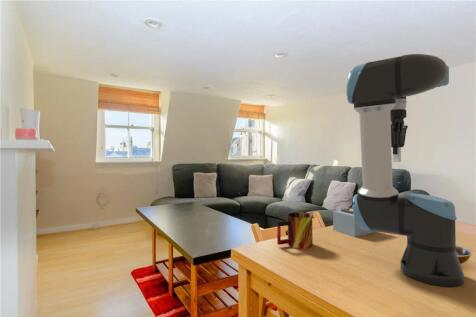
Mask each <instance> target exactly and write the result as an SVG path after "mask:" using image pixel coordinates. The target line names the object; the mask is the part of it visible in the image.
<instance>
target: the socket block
mask: <svg viewBox="0 0 476 317" xmlns="http://www.w3.org/2000/svg"><path fill="white" fill-rule="evenodd" d="M349 209H353V207H348V208H346V207H345V208H341V209H339V210H333V211H332V223H333V224H332V225H333V226H332V227H333V228H332V230H333V231H334V230H336V231H335V232H338V231H339V232H338V233H341V234H343V235H348V236H350V237H353V238H355V237H361V236H366V235H370V234H374V233H376V231H374V232H373V231H370V230H366V229H362V228H360V227H359V226H358V225H357V224H356V222H355V219H354V215H353V211H350V210H349Z"/></svg>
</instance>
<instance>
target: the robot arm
mask: <svg viewBox="0 0 476 317" xmlns="http://www.w3.org/2000/svg"><path fill="white" fill-rule="evenodd" d="M449 84H450V67H449V66H448V65H447V63H446V61H444V60H443V59H442V58H440V57H438V56H435V55H433V54H432V55H431V54H426V53H424V54H423V53H411V54H404V55H400V56H395V57H391V58H383V59H378V60H374V61H368V62H365V63H362V64H359V65H356V66H353V67H352V68H351V70H350V72H349V74H348V78H347V82H346V97H347V102H348V103H349V104H351V105H353V110H354V111H356V112H357V113H358V114H359V133H360V134H359V136H360V152H361V153H360V155H361V157H360V158H361V176H362V178H361V179H362V186H361V187H359V189H358V190H357V194H355V195H354V196H353V197H352V208H353V215H354V219H355V222H356V224H357V225H358V226H359V227H360V228H362V229H366V230H370V231H373V232H374V231H376V232H377V233H384V234H391V235H398V236H399V235H400V236H404V237H406V248H405V249H404V251H403V254H402V256H401V260H400V270H401V272H402V273H403V274H404V275H405V276H408V277H409V278H411V279H414V280H416V281H419V282H421V283H426V284H428V285H429V284H430V285H433V286H434V285H435V286H440V287H459V286H461V285H463V284H464V283H465V273H464V270H463V268H462V265H461V262H460V260H459V257H458V255H457V249H456V248H457V247H456V246H457V244H456V242H457V241H456V240H457V239H456V237H457V236H456V234H457V233H456V220H457V216H456V206H455V204H454V203H453V202H452V201H451V200H448V199H446V198H442V197H439V196H434V195H429V194H428V195H427V194H425V193H424V194H423V193H415V192H413V193H407V194H406V196H405V197H401V196H400V197H399V191H398V190H397V189H396V188H395V187H394V186H393V162H394V163H401V162H402V148H404V146H405V142H406V135H407V130H408V128H409V126H408V125H405V120H404V119H406V118H407V109H406V108H407V102H408V101H407V97H411V96H416V95H418V94H422V93H425V92H428V91H430V90H431V91H432V90H434V89H436V88H440V87H443V86H444V87H445V86H448V85H449ZM376 232H375V233H376Z"/></svg>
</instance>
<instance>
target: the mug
mask: <svg viewBox="0 0 476 317" xmlns="http://www.w3.org/2000/svg"><path fill="white" fill-rule="evenodd" d="M276 224H277V227H276V231H277V233H276V239H277V240H276V242H277V243H276V244H277V245H278V246H280V245H288V246H289V247H290V246H291V248H292V249H297V248H298V249H299V250H307V249H310V248H312V247H313V244H314V242H313V240H314V239H313V214H311V213H309V212H308V213H307V212H299V211H297V212H296V211H295V212H290V213H287V220H284V221H277V223H276ZM285 226H287V238H285V239H282V238H281V237H282V236H281V231H282V230H281V227H285ZM298 249H297V250H298Z"/></svg>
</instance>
